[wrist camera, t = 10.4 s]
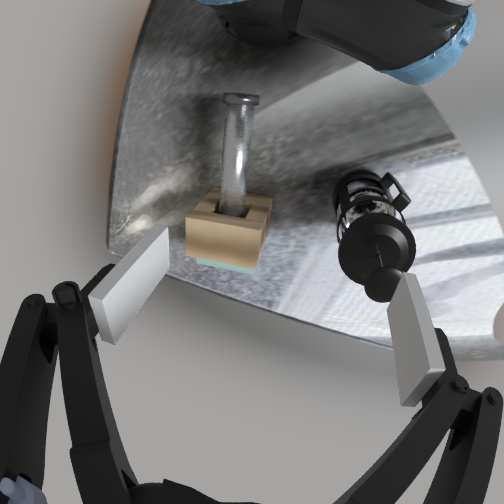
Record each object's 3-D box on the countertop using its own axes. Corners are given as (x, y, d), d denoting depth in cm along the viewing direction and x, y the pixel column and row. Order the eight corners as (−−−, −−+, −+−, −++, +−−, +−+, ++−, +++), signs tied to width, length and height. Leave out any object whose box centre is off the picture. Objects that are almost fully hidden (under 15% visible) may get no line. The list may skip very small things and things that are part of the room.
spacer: (214, 220, 54) (196, 246, 46) (266, 229, 53) (255, 258, 45) (214, 235, 55) (196, 262, 48) (264, 245, 54) (253, 274, 47)
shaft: (229, 92, 38) (218, 93, 34) (262, 95, 37) (256, 96, 33) (219, 230, 49) (210, 244, 45) (247, 235, 48) (240, 250, 45)
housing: (213, 187, 51) (185, 217, 40) (273, 196, 49) (260, 230, 39) (212, 219, 54) (185, 255, 44) (269, 229, 52) (255, 269, 42)
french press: (360, 239, 50) (376, 340, 30) (317, 204, 48) (312, 295, 29) (408, 189, 44) (462, 271, 24) (365, 149, 42) (402, 208, 23)
